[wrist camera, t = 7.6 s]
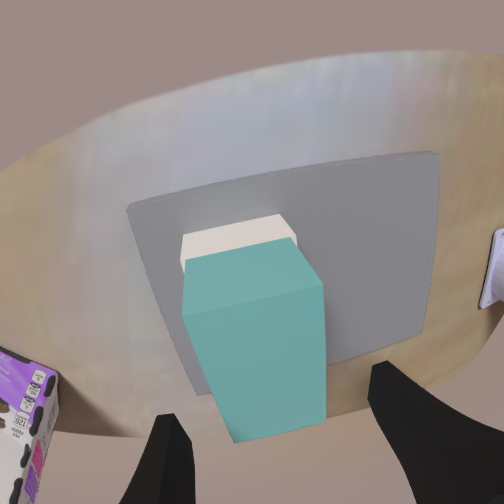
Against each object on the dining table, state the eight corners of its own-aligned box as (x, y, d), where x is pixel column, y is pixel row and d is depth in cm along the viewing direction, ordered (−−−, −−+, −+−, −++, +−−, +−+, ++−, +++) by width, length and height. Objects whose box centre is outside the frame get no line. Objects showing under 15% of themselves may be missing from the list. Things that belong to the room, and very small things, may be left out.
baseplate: (428, 151, 17) (472, 163, 13) (415, 325, 23) (441, 355, 19) (130, 203, 16) (110, 230, 12) (196, 385, 22) (198, 428, 18)
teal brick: (290, 236, 13) (323, 283, 10) (304, 366, 17) (326, 421, 13) (185, 259, 13) (181, 316, 9) (225, 384, 16) (234, 443, 13)
